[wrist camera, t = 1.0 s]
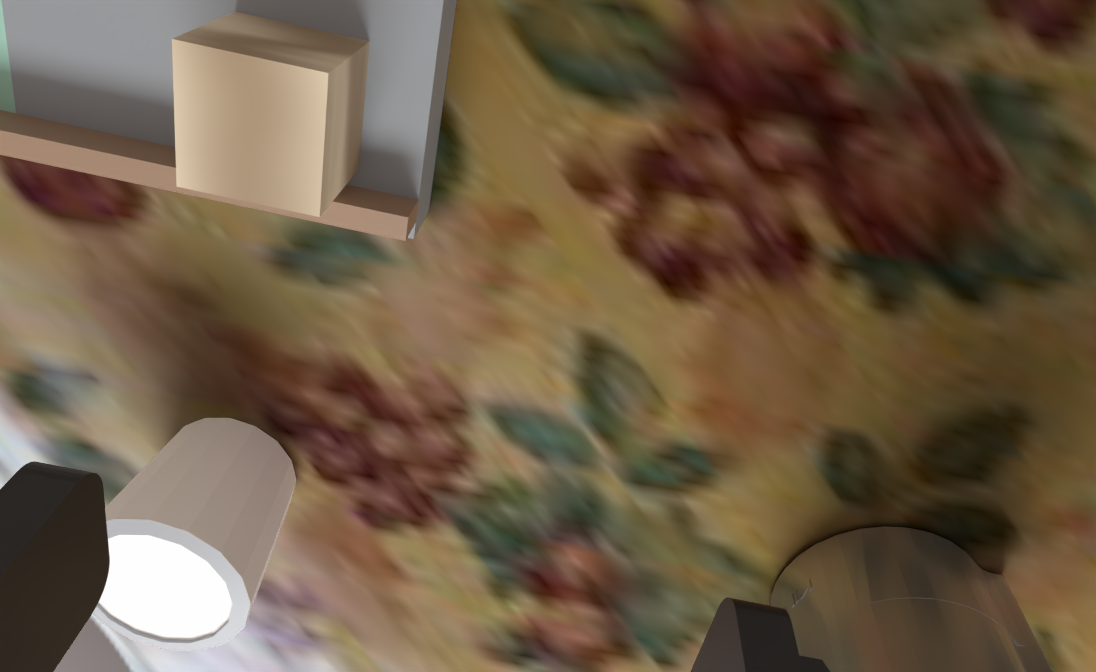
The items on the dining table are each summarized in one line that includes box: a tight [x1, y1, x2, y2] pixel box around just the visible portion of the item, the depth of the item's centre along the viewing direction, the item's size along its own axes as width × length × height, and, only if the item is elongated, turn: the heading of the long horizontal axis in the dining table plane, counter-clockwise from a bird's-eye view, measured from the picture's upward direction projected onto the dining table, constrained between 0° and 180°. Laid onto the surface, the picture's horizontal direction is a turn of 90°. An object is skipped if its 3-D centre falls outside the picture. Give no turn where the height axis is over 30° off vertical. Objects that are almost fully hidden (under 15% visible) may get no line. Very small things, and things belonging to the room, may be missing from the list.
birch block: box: [172, 12, 370, 217], centre depth 24 cm, size 4×4×4 cm
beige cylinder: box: [92, 418, 296, 651], centre depth 34 cm, size 7×7×7 cm
